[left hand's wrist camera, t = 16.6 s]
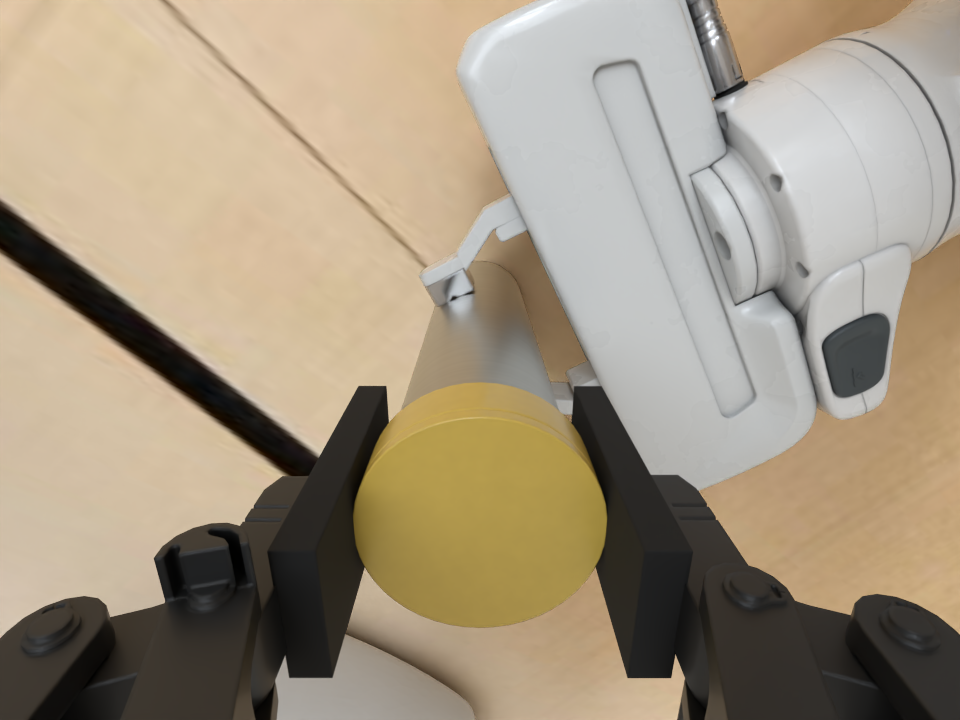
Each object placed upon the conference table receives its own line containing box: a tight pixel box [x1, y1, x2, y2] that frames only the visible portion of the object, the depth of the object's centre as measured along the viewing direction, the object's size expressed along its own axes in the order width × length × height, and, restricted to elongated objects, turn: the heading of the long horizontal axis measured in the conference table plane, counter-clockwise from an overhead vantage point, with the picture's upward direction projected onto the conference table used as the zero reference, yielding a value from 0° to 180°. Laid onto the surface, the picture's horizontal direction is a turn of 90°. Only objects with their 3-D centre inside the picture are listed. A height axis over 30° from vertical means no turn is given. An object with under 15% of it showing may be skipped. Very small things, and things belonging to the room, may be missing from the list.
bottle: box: [401, 261, 559, 410], centre depth 20 cm, size 4×4×19 cm
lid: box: [353, 382, 607, 628], centre depth 11 cm, size 5×5×2 cm
